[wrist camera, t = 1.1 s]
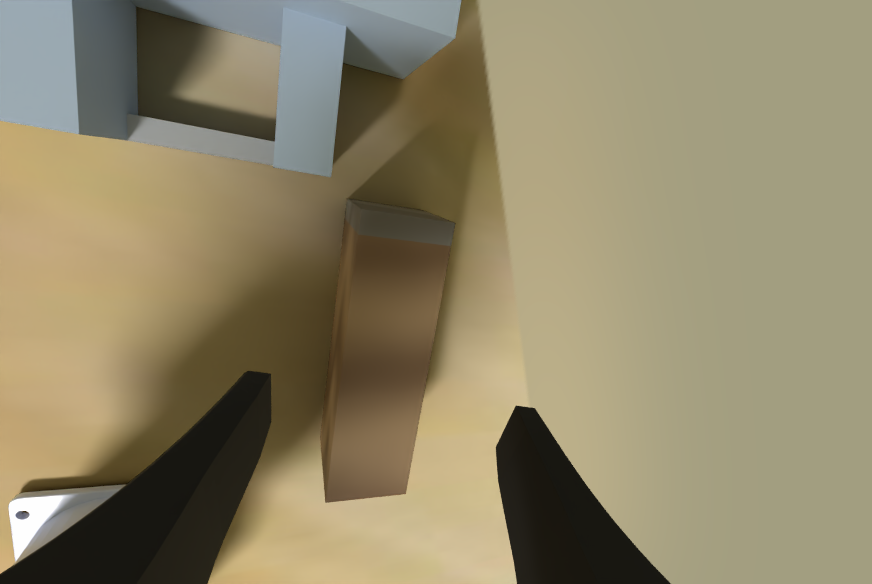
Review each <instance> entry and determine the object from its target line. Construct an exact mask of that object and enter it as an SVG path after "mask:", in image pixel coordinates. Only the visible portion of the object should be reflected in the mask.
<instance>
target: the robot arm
mask: <svg viewBox="0 0 872 584" xmlns="http://www.w3.org/2000/svg"><path fill="white" fill-rule="evenodd" d="M270 424H271V374H268V373H261V372H253V371H247V372H245V373H244V374H243V375H242V376H241V377H240V378H239V379H238V381H237V382H236V383H235V384H234V385H233V386H232V387H231V388H230V389H229V390H228V392H227V393H226V394H225V395H224V396H223V397H222V398H221V399H220V400H219V401H218V402H217V403H216V404H215V405H214V406H213V407H212V408H211V409H210V410H209V411H208V412H207V413H206V414H205V415H204V416H203V417H202V418H201V419H200V420H199V421H198V422H197V423H196V424H195V425H194V426H193V427H192V428H191V429H190V430H189V431H188V432H187V433H186V434H184V435H183V436H182V437H181V438H180V439H179V440H178V441H177V442H176V443H175V444H173V445H172V446H171V447H170V448H169V449H168V450H167V451H166V452H164V453H163V454H162V455H161V456H160V457H159V458H158V459H156V460H155V461H154V462H153V463H152V464H151V465H150V466H148V467H147V468H146V469H145V470H144V471H142V472H141V473H140V474H139V475H138V476H136V477H135V478H134V479H133V480H132V481H130V482H129V483H128V484H124V485H112V486H99V487H86V488H74V489H61V490H49V491H36V492H24V493H20V494H18V495H16V496H15V497H14V498H13V499H12V501H11V502H10V503H9V506H8V508H9V516H10V524H11V532H12V540H13V548H14V556H15V563H14V565H13V566H12V567H10V568H9V569H7V570H6V571H4V572H2V573H1V574H0V584H207V583H208V580H209V577H210V574H211V571H212V569H213V566H214V563H215V560H216V557H217V555H218V552H219V550H220V547H221V545H222V542H223V540H224V538H225V535H226V533H227V531H228V529H229V526H230V524H231V522H232V520H233V517H234V515H235V513H236V511H237V508H238V506H239V504H240V502H241V499H242V497H243V495H244V492H245V490H246V488H247V486H248V483H249V481H250V479H251V477H252V474H253V472H254V470H255V467H256V465H257V463H258V460H259V458H260V455H261V452H262V449H263V446H264V443H265V440H266V437H267V433H268V430H269V427H270ZM496 457H497V471H498V482H499V488H500V493H501V498H502V504H503V509H504V514H505V519H506V524H507V529H508V534H509V539H510V545H511V550H512V555H513V560H514V566H515V572H516V579H517V584H670V583H669V581H668V580H667V579H666V578H664V576H663V575H662V574H661V573H660V572H659V571H658V570H657V569H656V568H655V567H654V566H653V565H652V564H651V563H650V562H649V561H648V559H647V558H646V557H645V556H644V555H643V554H642V553H641V552H640V551H639V550H638V548H637V547H636V546H635V545H634V544H633V543H632V541H631V540H630V539H629V538H628V537H627V536H626V534H625V533H624V532H623V531H622V530H621V529H620V528H619V526H618V525H617V524H616V523H615V522H614V520H613V519H612V518H611V517H610V515H609V514H608V513H607V512H606V510H605V509H604V508H603V506H602V505H601V504H600V502H599V501H598V500H597V499H596V497H595V496H594V495H593V493H592V492H591V491H590V489H589V488H588V487H587V485H586V484H585V482H584V481H583V480H582V478H581V477H580V475H579V474H578V473H577V471H576V470H575V468H574V467H573V465H572V464H571V462H570V461H569V460H568V458H567V457H566V455H565V454H564V452H563V451H562V449H561V448H560V446H559V444H558V443H557V441H556V440H555V439H554V437H553V436H552V434H551V432H550V431H549V429H548V428H547V426H546V425H545V423H544V422H543V420H542V419H541V417H540V416H539V414H538V413H537V411H536V409H535V408H529V407H522V406H516V407H515V409H514V411H513V413H512V415H511V417H510V419H509V421H508V423H507V425H506V427H505V429H504V431H503V433H502V436H501V438H500V440H499V442H498V444H497V446H496ZM22 511H27V512H29V513H24V512H22Z"/></svg>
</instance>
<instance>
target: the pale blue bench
mask: <svg viewBox="0 0 872 584" xmlns="http://www.w3.org/2000/svg"><path fill="white" fill-rule="evenodd" d="M460 6H461V0H0V121H5V122H11V123H17V124H23V125H28V126H34V127H40V128H46V129H52V130H58V131H64V132H69V133H75V134H82V135H89V136H97V137H105V138H113V139H120V140H128V141H134V142H140V143H145V144H151V145H157V146H163V147H169V148H174V149H180V150H186V151H192V152H197V153H203V154H209V155H215V156H221V157H226V158H232V159H238V160H244V161H250V162H255V163H261V164H267V165H273V167H274V168H280V169H286V170H292V171H297V172H303V173H309V174H315V175H321V176H327V177H331V174H332V164H333V154H334V144H335V134H336V124H337V114H338V104H339V95H340V85H341V75H342V65H343V63H345V64H349V65H352V66H356V67H360V68H363V69H367V70H371V71H374V72H378V73H382V74H385V75H389V76H393V77H397V78H400V79H404V78H405V77H407V76H408V75H409V74H411V73H412V72H413V71H414V70H416V69H417V68H418V67H419V66H421V65H422V64H423V63H424V62H426V61H427V60H428V59H430V58H431V57H432V56H433V55H435V54H436V53H437V52H438V51H440V50H441V49H442V48H443V47H445V46H446V45H447V44H448V43H450V42H451V41H452V40H454V39H455V36H456V30H457V24H458V18H459V12H460ZM136 7H139V8H143V9H147V10H150V11H154V12H158V13H161V14H165V15H169V16H172V17H176V18H180V19H183V20H187V21H191V22H194V23H198V24H202V25H205V26H209V27H213V28H217V29H220V30H224V31H228V32H231V33H235V34H239V35H242V36H246V37H250V38H253V39H257V40H261V41H264V42H268V43H272V44H275V45H279V46H281V54H280V69H279V85H278V100H277V116H276V131H275V142H274V141H269V140H263V139H258V138H253V137H248V136H243V135H237V134H232V133H227V132H222V131H217V130H211V129H206V128H201V127H196V126H191V125H185V124H180V123H175V122H170V121H165V120H159V119H154V118H149V117H144V116H139V115H138V83H137V29H136Z"/></svg>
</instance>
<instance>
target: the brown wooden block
mask: <svg viewBox="0 0 872 584" xmlns="http://www.w3.org/2000/svg"><path fill="white" fill-rule="evenodd" d="M454 227H455V223H454V222H451V221H449V220H446V219H444V218H441V217H438V216H436V215H433V214H431V213H428V212H425V211H423V210H418V209H411V208H405V207H398V206H392V205H385V204H379V203H372V202H366V201H359V200H353V199H347V203H346V212H345V221H344V230H343V239H342V248H341V257H340V265H339V274H338V283H337V292H336V301H335V310H334V319H333V328H332V337H331V346H330V355H329V363H328V372H327V381H326V390H325V399H324V408H323V417H322V426H321V435H320V441H321V453H322V466H323V478H324V490H325V503H327V502H336V501H345V500H355V499H364V498H373V497H382V496H391V495H401V494H406V489H407V484H408V478H409V473H410V467H411V462H412V456H413V451H414V446H415V440H416V435H417V429H418V424H419V418H420V413H421V407H422V402H423V396H424V391H425V386H426V380H427V375H428V369H429V364H430V358H431V353H432V347H433V342H434V336H435V331H436V326H437V320H438V315H439V309H440V304H441V298H442V293H443V287H444V282H445V276H446V271H447V266H448V260H449V255H450V249H451V244H452V238H453V233H454Z"/></svg>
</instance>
